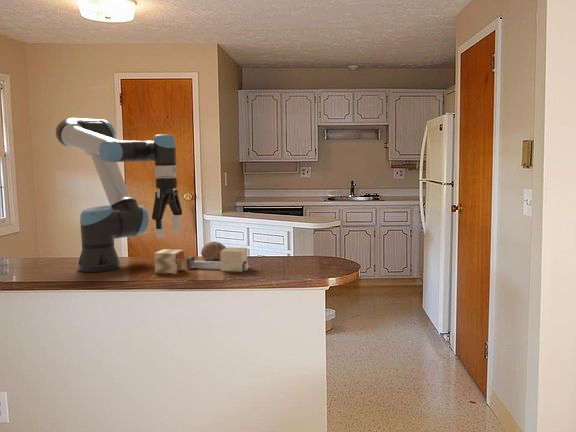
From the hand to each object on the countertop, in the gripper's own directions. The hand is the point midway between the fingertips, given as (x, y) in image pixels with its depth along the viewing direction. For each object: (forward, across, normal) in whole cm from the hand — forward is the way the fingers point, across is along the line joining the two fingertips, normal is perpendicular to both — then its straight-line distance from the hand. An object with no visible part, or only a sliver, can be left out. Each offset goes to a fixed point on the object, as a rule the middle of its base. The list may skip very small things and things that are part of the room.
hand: (168, 235), depth 191 cm
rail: (+14, +7, -17) cm, 23 cm away
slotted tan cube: (+14, 0, 0) cm, 14 cm away
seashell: (+14, +23, -9) cm, 29 cm away
